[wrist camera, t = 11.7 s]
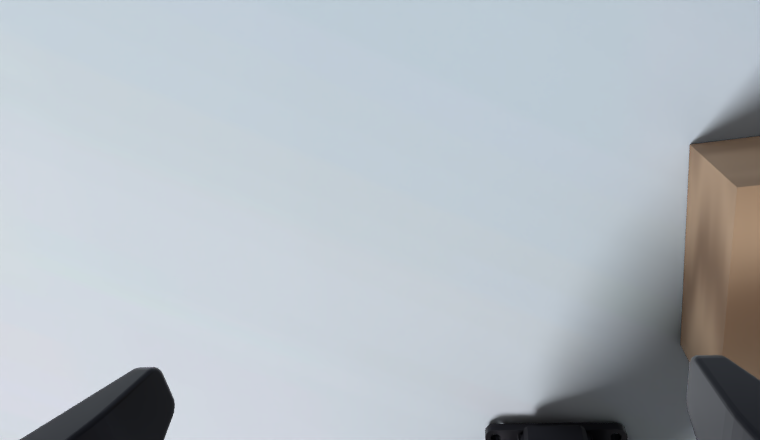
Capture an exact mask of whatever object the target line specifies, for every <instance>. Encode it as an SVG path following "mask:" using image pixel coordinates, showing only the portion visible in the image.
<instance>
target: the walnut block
mask: <svg viewBox="0 0 760 440" xmlns="http://www.w3.org/2000/svg"><path fill="white" fill-rule="evenodd" d="M680 345H681V347H682V349H683V351H684V353H685V355H686V357H687V359H688V361H689V362H690V360H691V358H692V357H694V356H696V355H722V356H725V357H726V358H728V359H730V360H731V361H733V362H734V363H735V364H737V365H738V366H740V367H741V368H743V369H744V370H746V371H747V372H749V373H750V374H751V375H753V376H754V377H756V378H757V379H759V380H760V136H756V137H747V138H739V139H731V140H723V141H714V142H706V143H698V144H690V153H689V174H688V195H687V216H686V237H685V258H684V279H683V300H682V321H681V342H680Z"/></svg>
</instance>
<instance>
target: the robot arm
mask: <svg viewBox="0 0 760 440" xmlns="http://www.w3.org/2000/svg"><path fill="white" fill-rule="evenodd" d="M686 401H687V409H688V413H689V416H690V420H691V423H692V426H693V429H694V432H695V436H696V439H697V440H760V380H759V379H757V378H756V377H754V376H753V375H751V374H750V373H749V372H747V371H746V370H744V369H743V368H741V367H740V366H738V365H737V364H735V363H734V362H733V361H731V360H730V359H728V358H726V357H725V356H722V355H696V356H694V357H692V358H691V360H690V364H689V373H688V384H687V395H686ZM174 408H175V403H174V399H173V396H172V394H171V392H170V389H169V387H168V385H167V382H166V380H165V378H164V376H163V373H162V372H161V371H160V370H159V369H158V368H155V367H140V368H136V369H133V370H132V371H130V372H128V373H127V374H125V375H124V376H122V377H120V378H119V379H117V380H116V381H114V382H112V383H111V384H109V385H107V386H106V387H104V388H103V389H101V390H99V391H98V392H96V393H94V394H93V395H91V396H90V397H88V398H86V399H85V400H83V401H82V402H80V403H78V404H77V405H75V406H73V407H72V408H70V409H69V410H67V411H65V412H64V413H62V414H61V415H59V416H57V417H56V418H54V419H52V420H51V421H49V422H48V423H46V424H44V425H43V426H41V427H40V428H38V429H36V430H35V431H33V432H31V433H30V434H28V435H27V436H25V437H23V438H22V439H20V440H164V438H165V435H166V433H167V430H168V427H169V425H170V422H171V419H172V416H173V413H174ZM614 433H618V434H614ZM493 434H498V435H493ZM485 439H486V440H627V434H626V431H625V427H624V426H623V425H621V424H619V423H538V424H492V425H489V426H487V428H486V430H485Z"/></svg>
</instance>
